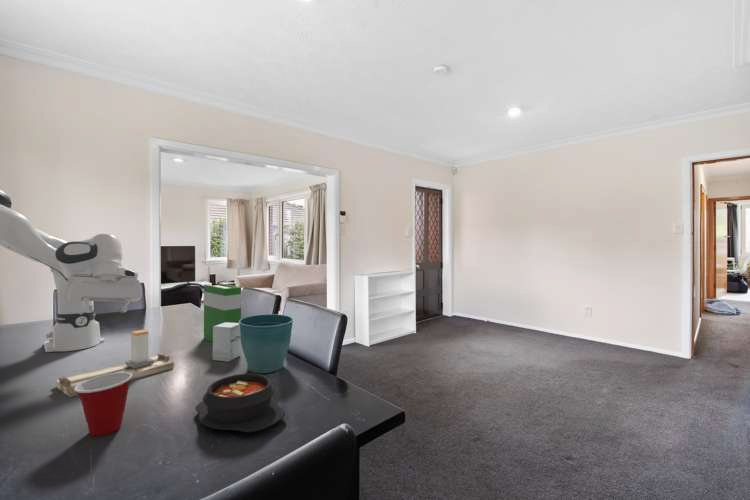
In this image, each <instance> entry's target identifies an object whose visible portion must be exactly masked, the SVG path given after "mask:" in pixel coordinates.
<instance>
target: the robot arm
mask: <svg viewBox="0 0 750 500" xmlns="http://www.w3.org/2000/svg"><path fill="white" fill-rule="evenodd" d="M12 203H13V202H12V200H11V197H9V196H8V195H7V193H6V192H5V191H3V190H2V189H0V246H1V247H3V248H5V249H7V250H9V251H11V252H14V253H16V254H18V255H21V256H22V257H25V258H26V259H29V260H31V261H34V262H36V263H40V264H43V265H44V266H47V267H49V269H50V271H51V273H52V275H53V280H54V284H55V288H56V294H57V312H56V315H55V325H54V326H53V327H52V329H51V331H48V332H46V333H45V337H46V339H48V340H46V341H44V342H43V347H44V351H45V353H51V352H71V351H79V350H84V349H88V348H92V347H94V346H95V347H96V346H97V345H99V344H100V343H103V342H105V338H103V337H101V329H100V322H99V321H97V320H95V318H96V310H95V309H94V308H95V307H94V303H95V302H123V303H124V304H125V305H122V306H121V307H120V308H119V309H120V313H126V312H128V306H129V304H130V303H131V302H134V303H135V302H138V301H140V300H141V298H142V297H143V287H142V283H141V281H140V280H139V279H138V278H139V273H138V272H136V271H133V270H130V269H127V268H125V267H123V265H122V259H123V249H122V243H121V241H120V240H119V239H118V237H116V236H115V235H112V234H110V233H109V234H108V233H98V234H96V235H94V236H92V237H91V238H88V239H84V240H79V241H78V240H77V241H75V240H74V241H68V242H67V241H65V240H63V239H60V238H57V237H55V236H54V235H51V234H49V233H47V232H45V231H43V230H41V229H39V228H36V227H35V226H34V225H33V223H32V222H31V221H30V220H29V218H27V217H25V216H24V215H23V214H22V213H20V212H19V211H18V212H17V211H16V210H14V209H12Z"/></svg>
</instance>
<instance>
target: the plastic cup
mask: <svg viewBox="0 0 750 500" xmlns="http://www.w3.org/2000/svg"><path fill="white" fill-rule="evenodd" d="M131 378H132V373H129V372H118V373H111V374H106V375H102V376H98V377H94V378H91V379H88V380H86V381H84V382H81V383H79V384H78V385H77V386H75V388H74V390H75V392H77V393H78V397H79V399H80V401H81V405H82V409H83V413H84V417H85V422H86V423H87V428H88V433H89V434H90V436H91V437H97V438H98V437H104V436H108V435H111V434H114V433H115V432H117V431H119V430H120V429H121V427H122V423H123V419H124V413H125V411H126V403H127V398H128V392H129V389H130V388H129V387H130V383H131V381H132V380H131Z"/></svg>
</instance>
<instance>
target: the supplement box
mask: <svg viewBox="0 0 750 500" xmlns="http://www.w3.org/2000/svg"><path fill="white" fill-rule="evenodd" d="M241 355H242V345H241V335H240V324H239V323H228V322H224V323H222V324H219V325H216V326H213V342H212V361H218V362H219V361H221V362H231V361H233V360H234V359H236V358H239V357H240V356H241Z"/></svg>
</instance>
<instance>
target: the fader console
mask: <svg viewBox="0 0 750 500" xmlns="http://www.w3.org/2000/svg"><path fill="white" fill-rule="evenodd" d="M148 358H150V359H153V360H154V364H150V365H146V366H142V367H138V368H135V369H133V368H131V367H129V366H127V365H126V362H124V363H122V364H115V365H113V366H109V367H105V368H100V369H96V370H93V371H89V372H84V373H80V374H79V373H78V374H76V375H72V376H68V377H65V376H59V377H58V379H56V380H55V387H56V389H57V390H59V391H61V392H62V393H63V394H65V395H66V396H67V397H68V398H73V397H79V395H78V393H77V392H75V390H74V388H75V386H77V385H78V384H79V383H81V382H84V381H86V380H88V379H91V378H94V377H98V376H102V375H106V374H111V373H118V372H129V373H132V378H131V380H130V381H134V380H136V379H140V378H143V377H148V376H151V375H154V374H157V373H161V372H165V371H168V370H171V369H174V368H175V366H174V365H175V362H174V361H172V360H170V355H168V354H166V353H162V352H159V353H157V355H152V356H148Z"/></svg>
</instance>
